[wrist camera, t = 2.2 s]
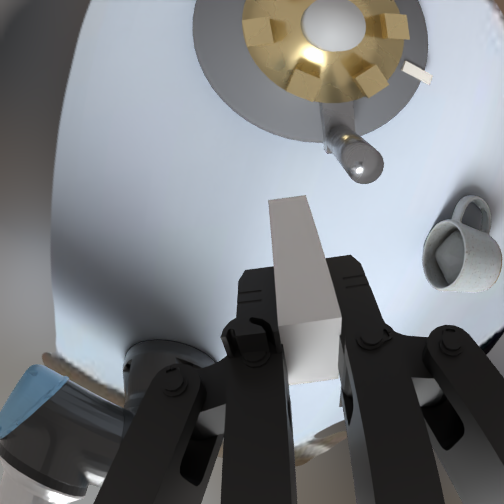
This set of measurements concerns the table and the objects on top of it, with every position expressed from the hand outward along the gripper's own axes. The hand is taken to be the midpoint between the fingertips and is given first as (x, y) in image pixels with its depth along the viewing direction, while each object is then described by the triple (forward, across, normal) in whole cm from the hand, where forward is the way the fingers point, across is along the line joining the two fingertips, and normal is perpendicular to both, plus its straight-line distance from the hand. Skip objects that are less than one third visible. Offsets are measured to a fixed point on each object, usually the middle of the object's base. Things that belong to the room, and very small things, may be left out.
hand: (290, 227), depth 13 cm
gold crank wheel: (+15, -5, -7) cm, 17 cm away
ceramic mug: (+17, -20, +14) cm, 30 cm away
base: (+17, -5, -9) cm, 20 cm away
